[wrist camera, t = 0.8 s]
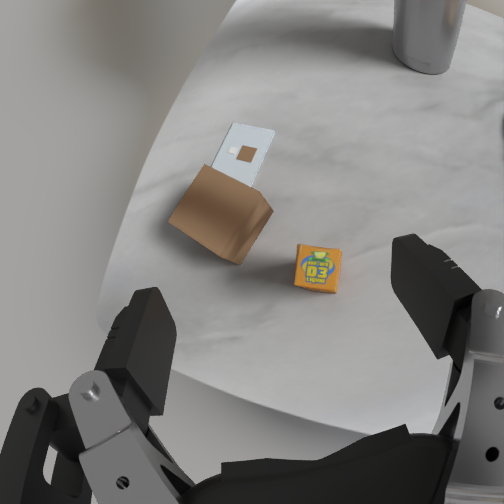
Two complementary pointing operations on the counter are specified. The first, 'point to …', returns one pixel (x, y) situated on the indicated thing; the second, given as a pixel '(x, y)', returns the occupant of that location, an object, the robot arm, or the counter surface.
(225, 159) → the page
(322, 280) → the supplement box
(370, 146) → the counter surface
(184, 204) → the base brick
